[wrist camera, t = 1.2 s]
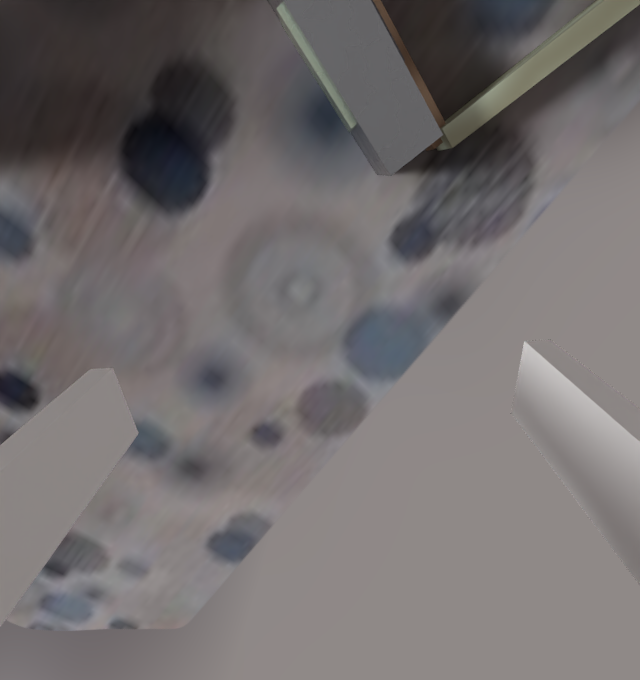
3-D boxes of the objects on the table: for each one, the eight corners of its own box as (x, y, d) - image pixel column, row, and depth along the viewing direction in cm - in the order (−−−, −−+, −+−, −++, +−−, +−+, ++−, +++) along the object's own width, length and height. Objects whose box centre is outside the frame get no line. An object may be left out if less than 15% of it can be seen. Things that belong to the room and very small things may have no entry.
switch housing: (253, -11, 26) (224, -80, 19) (305, -68, 25) (294, -166, 18) (373, 177, 31) (386, 179, 24) (421, 139, 30) (449, 129, 23)
